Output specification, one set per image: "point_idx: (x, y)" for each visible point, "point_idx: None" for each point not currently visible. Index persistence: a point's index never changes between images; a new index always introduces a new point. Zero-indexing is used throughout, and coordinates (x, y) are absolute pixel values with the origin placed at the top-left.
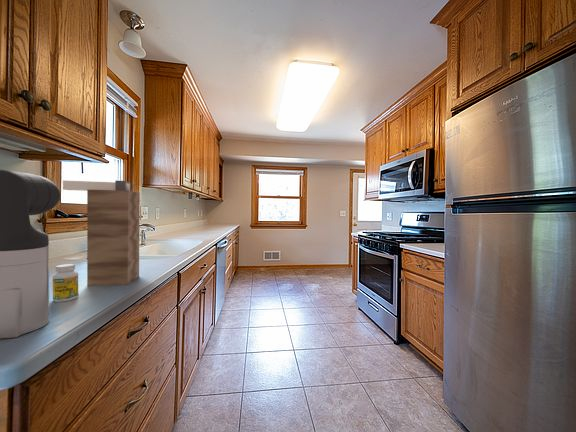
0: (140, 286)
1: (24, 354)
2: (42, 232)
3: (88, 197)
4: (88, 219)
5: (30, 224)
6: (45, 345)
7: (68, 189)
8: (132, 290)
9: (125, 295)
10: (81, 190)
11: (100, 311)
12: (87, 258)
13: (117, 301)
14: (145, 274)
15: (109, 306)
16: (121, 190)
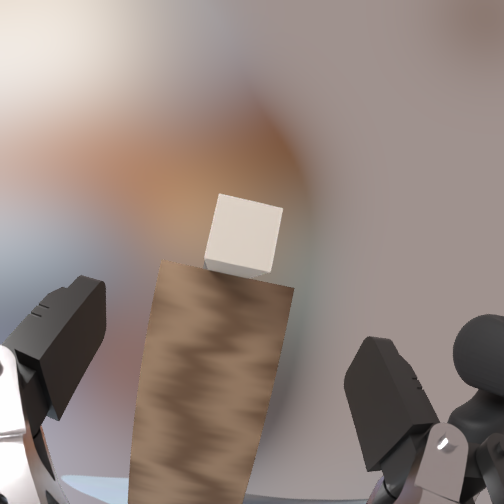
0: None
1: None
2: (461, 405)
3: (286, 322)
4: (266, 410)
5: (477, 391)
6: None
7: (264, 273)
8: (262, 499)
9: (291, 501)
10: (212, 265)
11: (358, 500)
12: None
13: (320, 500)
14: (123, 487)
15: (340, 500)
16: None
